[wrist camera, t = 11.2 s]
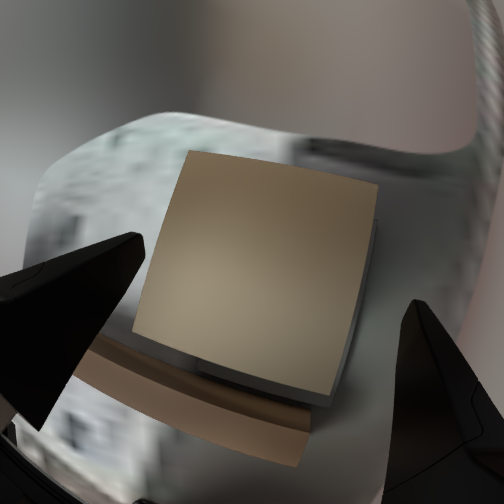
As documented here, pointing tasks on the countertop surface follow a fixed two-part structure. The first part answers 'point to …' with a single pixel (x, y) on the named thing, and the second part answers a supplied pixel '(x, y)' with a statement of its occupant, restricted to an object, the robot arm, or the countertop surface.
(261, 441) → the tan brown bar
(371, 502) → the countertop surface
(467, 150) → the countertop surface
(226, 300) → the birch block
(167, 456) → the countertop surface
